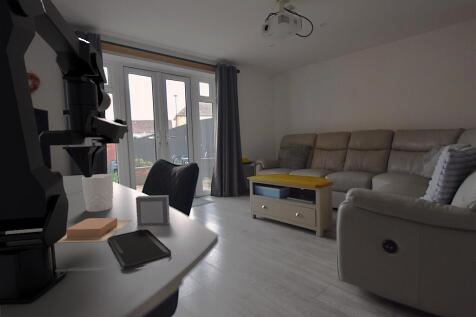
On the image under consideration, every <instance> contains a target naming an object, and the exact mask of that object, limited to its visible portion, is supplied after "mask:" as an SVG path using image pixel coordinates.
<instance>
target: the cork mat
mask: <svg viewBox="0 0 476 317" xmlns="http://www.w3.org/2000/svg"><path fill="white" fill-rule="evenodd" d="M132 221H133V219H117V224H118V225H116V226H115V227H113V228H112V229H111V230H109V231H108V232H106V233H105V234H103V235H102V236H94V237H67V233H66V235H65V236H64V237H63V238H62V239H60V240H59V241H58V242H56V243H55V244H65V243H67V244H68V243H69V244H71V243H104V242H106V241H108V238H109V237H111V236H114V235H116V233H117V232H119V231H120V230H121V229H123V228H124V227H125V226H126V225H129V223H130V222H132Z"/></svg>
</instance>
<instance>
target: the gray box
mask: <svg viewBox="0 0 476 317" xmlns="http://www.w3.org/2000/svg"><path fill="white" fill-rule="evenodd" d="M135 207H136V208H135V209H136V224H137V226H138V227H140V226H141V227H142V226H143V227H145V226H148V227H149V226H168V225H169V224H170V222H171V221H170V218H171V217H170V200H169V195H168V194H167V195H165V194H164V195H162V194H161V195H138V196H136V197H135Z"/></svg>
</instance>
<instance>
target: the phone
mask: <svg viewBox="0 0 476 317" xmlns="http://www.w3.org/2000/svg"><path fill="white" fill-rule="evenodd" d="M107 243H108V245H109V247H110V248H111V250H112V252H113V254H114V255H115V257H116V258H117V261H118V262H119V264H120V268H121V270H123V271H124V272H130V271H134V270H137V269H139V268H144V267H146V266H148V265H146V264H147V263H151V262H154V261H157V260H161V259H164V258H168V257H170V256H171V257H172V251H171V249H169V247H167V246H166V245H165V244H164V242H162V241H161V240H160V239H158V237H156V235H154V234H153V233H152V232H151V231H150V230H149V229H146V228H143V229H138V230H135V231H129V232H125V233H120V234H114V235H112V236H111V237H109V238H108V239H107ZM171 257H170V258H171ZM144 264H145V265H144Z"/></svg>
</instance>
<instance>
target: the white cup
mask: <svg viewBox="0 0 476 317" xmlns="http://www.w3.org/2000/svg"><path fill="white" fill-rule="evenodd" d="M113 179H114V175H113V174H111V173H100V174H92V177H90V178H85V177H84V176H82V177H81V184H82V191H83V199H84V203H85V210H86V211H87V212H89V213H92V212H93V213H95V212H103V211H108V210H110V209H112V208H113V205H114V204H113V199H114V180H113Z"/></svg>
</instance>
